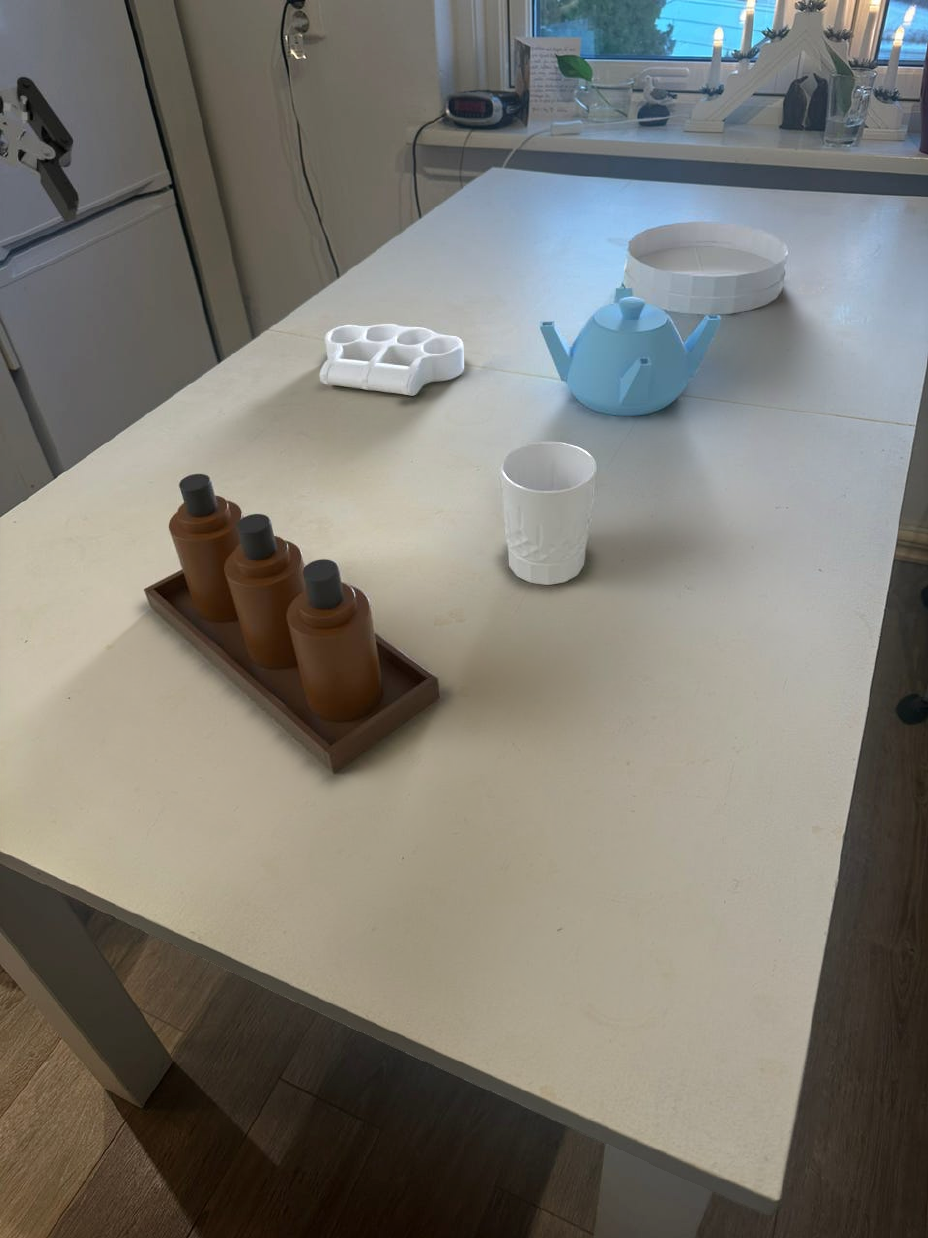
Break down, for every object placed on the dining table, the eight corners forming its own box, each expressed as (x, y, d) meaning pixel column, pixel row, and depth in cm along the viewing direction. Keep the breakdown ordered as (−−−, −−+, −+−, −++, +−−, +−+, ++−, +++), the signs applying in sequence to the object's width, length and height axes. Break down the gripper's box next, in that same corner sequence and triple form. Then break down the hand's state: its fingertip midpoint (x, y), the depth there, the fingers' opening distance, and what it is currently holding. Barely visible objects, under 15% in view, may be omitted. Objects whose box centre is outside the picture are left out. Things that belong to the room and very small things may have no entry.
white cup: (484, 567, 78) (480, 471, 71) (536, 526, 82) (537, 432, 76) (556, 602, 74) (560, 503, 67) (607, 556, 78) (615, 459, 72)
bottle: (227, 631, 72) (190, 511, 64) (181, 606, 75) (140, 488, 67) (277, 593, 76) (248, 475, 68) (231, 571, 78) (198, 454, 70)
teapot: (720, 389, 101) (735, 297, 94) (639, 439, 93) (649, 342, 86) (615, 352, 109) (622, 264, 102) (534, 394, 102) (535, 303, 95)
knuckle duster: (298, 388, 106) (350, 338, 116) (436, 406, 101) (477, 353, 111) (293, 362, 104) (346, 313, 114) (434, 379, 99) (477, 327, 109)
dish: (768, 254, 132) (775, 219, 128) (796, 314, 115) (804, 275, 112) (619, 256, 134) (622, 222, 131) (626, 315, 118) (629, 277, 114)
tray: (150, 607, 76) (143, 589, 75) (248, 555, 81) (244, 536, 80) (333, 774, 61) (329, 755, 60) (440, 697, 66) (438, 678, 65)
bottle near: (319, 732, 63) (290, 608, 55) (297, 681, 67) (267, 558, 60) (394, 706, 65) (376, 581, 57) (368, 658, 69) (348, 535, 61)
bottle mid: (257, 678, 68) (222, 556, 60) (240, 633, 72) (205, 513, 64) (328, 655, 70) (303, 532, 62) (308, 612, 74) (282, 492, 66)
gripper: (-229, 2, 56) (-87, 224, 58) (-11, -24, 63) (112, 174, 65) (-205, 88, 63) (-78, 285, 64) (-10, 55, 70) (102, 234, 71)
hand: (17, 229), depth 64 cm, fingers open, 8 cm apart
